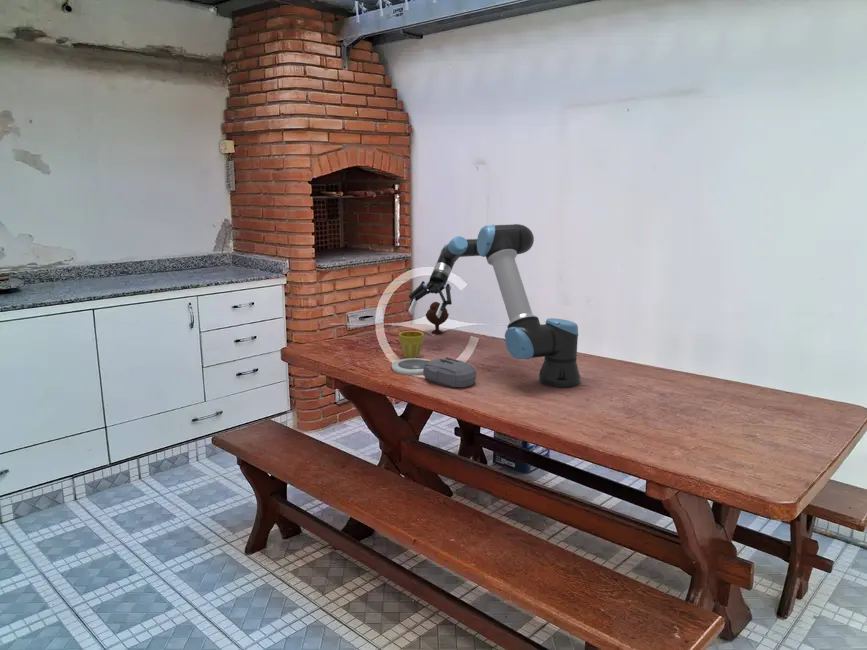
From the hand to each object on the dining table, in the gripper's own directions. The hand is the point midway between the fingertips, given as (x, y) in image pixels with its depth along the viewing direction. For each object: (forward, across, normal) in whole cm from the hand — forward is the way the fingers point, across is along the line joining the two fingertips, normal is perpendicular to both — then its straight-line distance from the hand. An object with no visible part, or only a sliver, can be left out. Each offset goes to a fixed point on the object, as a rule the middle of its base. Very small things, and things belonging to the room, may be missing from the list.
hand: (423, 314), depth 281 cm
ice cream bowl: (-10, +9, -32) cm, 35 cm away
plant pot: (+19, 0, -4) cm, 19 cm away
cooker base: (+29, -10, +7) cm, 31 cm away
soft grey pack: (+34, -30, +12) cm, 47 cm away
